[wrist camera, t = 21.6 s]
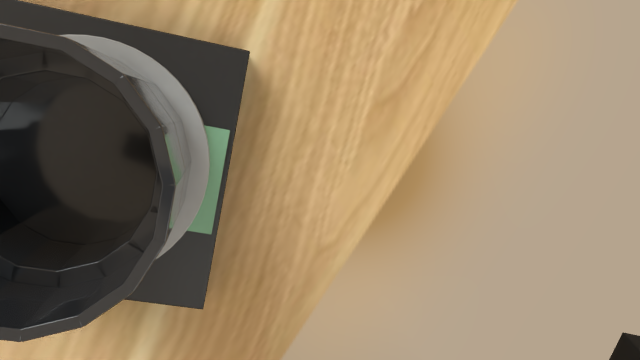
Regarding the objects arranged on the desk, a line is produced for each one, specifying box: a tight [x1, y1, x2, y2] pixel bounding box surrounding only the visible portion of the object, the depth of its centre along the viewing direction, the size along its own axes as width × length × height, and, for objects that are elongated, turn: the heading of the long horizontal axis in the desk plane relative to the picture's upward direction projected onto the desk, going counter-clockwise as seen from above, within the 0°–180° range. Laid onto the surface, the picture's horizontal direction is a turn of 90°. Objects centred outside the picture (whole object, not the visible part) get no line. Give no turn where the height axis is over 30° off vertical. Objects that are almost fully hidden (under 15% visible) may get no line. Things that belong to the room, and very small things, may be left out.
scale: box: [0, 0, 250, 309], centre depth 30 cm, size 15×15×3 cm
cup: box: [0, 23, 192, 342], centre depth 24 cm, size 11×11×10 cm
